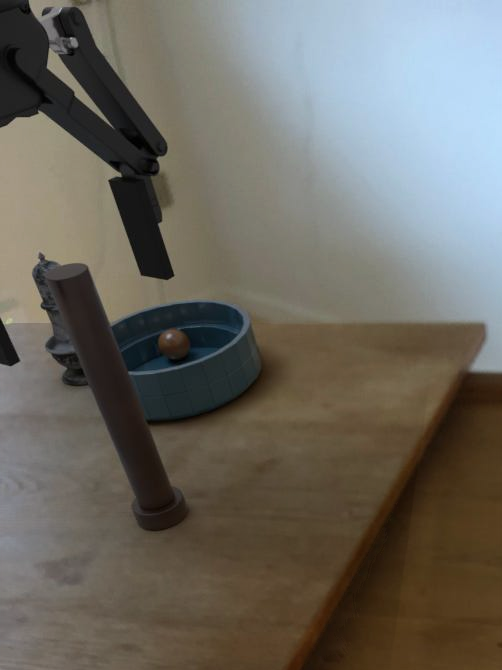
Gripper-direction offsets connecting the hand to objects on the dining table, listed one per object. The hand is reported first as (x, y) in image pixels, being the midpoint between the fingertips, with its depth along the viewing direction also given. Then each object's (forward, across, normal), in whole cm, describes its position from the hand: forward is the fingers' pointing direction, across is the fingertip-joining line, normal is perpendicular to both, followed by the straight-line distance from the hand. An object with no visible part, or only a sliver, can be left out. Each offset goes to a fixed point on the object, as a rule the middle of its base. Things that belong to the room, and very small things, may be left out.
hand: (85, 316), depth 64 cm
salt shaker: (+16, +15, +26) cm, 34 cm away
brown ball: (+14, +20, +18) cm, 30 cm away
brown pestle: (+16, 0, 0) cm, 17 cm away
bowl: (+16, +17, +15) cm, 28 cm away
